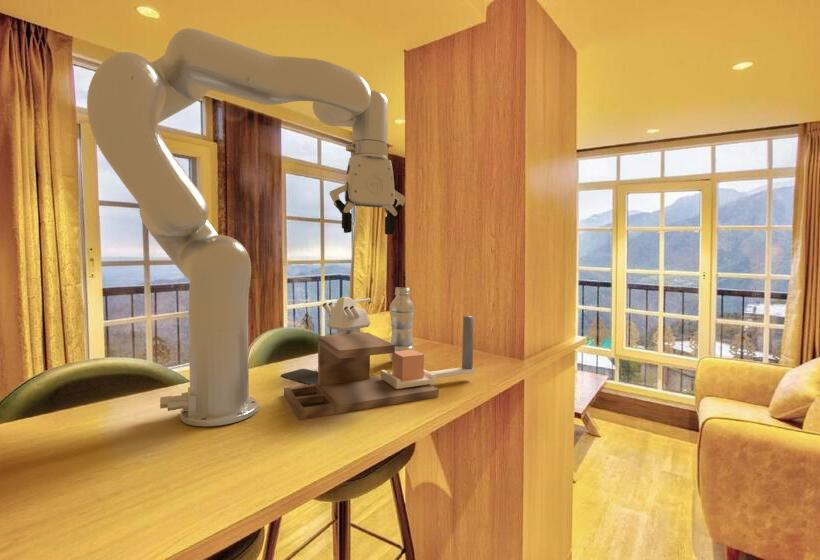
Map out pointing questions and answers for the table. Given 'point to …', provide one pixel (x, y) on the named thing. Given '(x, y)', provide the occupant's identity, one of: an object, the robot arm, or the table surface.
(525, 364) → the table surface
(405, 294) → the plastic bottle
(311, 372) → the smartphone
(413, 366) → the block
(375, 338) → the desk organizer
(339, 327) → the white mech figurine
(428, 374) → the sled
